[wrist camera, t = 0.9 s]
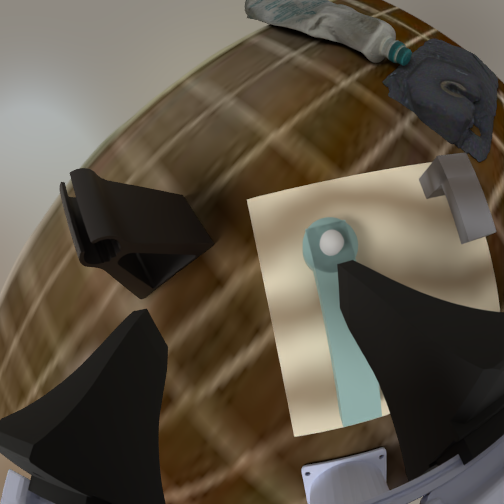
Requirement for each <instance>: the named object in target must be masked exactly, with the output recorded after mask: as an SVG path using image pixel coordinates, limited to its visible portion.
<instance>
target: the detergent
mask: <svg viewBox="0 0 504 504" xmlns="http://www.w3.org/2000/svg"><path fill="white" fill-rule="evenodd" d="M245 12H246V14H247V15H248V16H247V18H250V19H255V20H259V21H262V22H265V23H267V24H271V25H275V26H282V27H287V28H290V29H294V30H298V31H301V32H303V33H306V34H308V35H310V36H312V37H315V38H323V39H327V40H331V41H335V42H339V43H342V44H345V45H347V46H349V47H351V48H353V49H355V50H358V51H360V52H362V53H363V54H364V55H365V57H366V58H367V59H368V60H370V61H371V62H373V63H378V62H380V61H382V60H383V59H384V58H385V57H387V58H388V60H390V61H391V62H393V63H399V64H400V65H403V66H405V65H406V64H408V62H409V61H410V58H411V55H412V52H411V50H410V49H408V48H406V46H405V45H404V44H403V43H402V42H400V41H395V39H396V34H395V31H394V29H393V28H392V27H391V26H390V25H389V24H388V23H386V22H384V21H382V20H380V19H377V18H374V17H370V16H367V15H363V14H361V13H359V12H357V11H355V10H354V9H353V8H350V7H348V6H345V5H341V4H340V5H336V4H334V3H332V2H330V1H328V0H246V2H245Z"/></svg>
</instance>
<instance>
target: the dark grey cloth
mask: <svg viewBox="0 0 504 504" xmlns="http://www.w3.org/2000/svg"><path fill="white" fill-rule="evenodd" d="M383 84H384V85H385V86H386V87H389V94H388V95H389V97H391V98H393V99H395V100H397V101H398V102H400V103H401V104H403V105H404V106H405V107H407V108H408V109H410V110H411V111H413V112H414V113H415V114H416V115H417V116H418V117H419V119H420V120H421V121H422V122H424V123H425V124H426V125H427V126H429V127H430V128H431V129H432V130H434V131H435V132H437V133H438V134H439V135H440V136H442V137H443V138H444V139H445V140H447V141H448V142H449V143H451V144H455V145H456V146H457V147H458V148H460V147H461V149H462V150H464V151H465V152H466V153H468V152H469V153H470V154H471V155H472V156H473V157H474V158H476V159H477V161H479V162H481V161H483V160H485V159H486V158H487V154H488V153H489V151H490V144H491V139H492V132H493V131H492V130H493V120H494V118H493V117H494V116H495V115H496V113H495V112H496V109H497V103H496V100H497V88H498V79H497V77H496V75H495V74H494V73H493V72H492V71H491V70H490V69H489V68H488V67H487V66H486V65H485V64H484V63H483V62H482V61H481V60H480V59H479V58H478V57H477V56H476V55H474V54H473V53H471V52H469V51H467V50H465V49H462V48H460V47H456V46H452V45H450V44H449V43H446V42H444V41H442V40H437V39H430V40H428V41H427V42H425V43H424V46H421V47H420V48H418V50H416V51H415V52H413V53H412V55H411V58H410V61H409V62H408V64H406V65H405V66H403V65H400V66H398V67H397V69H396V70H395V71H393V72H392V73H391V74H390V75H389V76H387V78H386V79H385V80H384V81H383ZM473 124H474V125H475V126H476V127H478V128H479V130H480V133H481V136H480V137H479V136H477V135H476V134H474V133H473V132H472V131H471V130H470V129H469V128H472V127H473Z"/></svg>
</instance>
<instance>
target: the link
mask: <svg viewBox="0 0 504 504" xmlns="http://www.w3.org/2000/svg"><path fill="white" fill-rule="evenodd" d="M357 252H358V240H357V236H356V234H355V232H354V230H353V229H352V228H351V226H350V225H349V224H347V223H346V221H345V220H341V219H338V218H334V217H326V218H321V219H319V220H317V221H315V222H314V223H312V224H311V225H310V226H309V227H308V229H305V234H304V238H303V257H304V260H305V263H306V264H307V266H308V267H309V268H310V269H311V270H312V271H313V273H314V277H315V282H316V286H317V291H318V295H319V300H320V305H321V310H322V314H323V319H324V324H325V330H326V335H327V340H328V345H329V351H330V357H331V362H332V368H333V374H334V380H335V387H336V393H337V400H338V407H339V414H340V418H341V421H342V424H343V427H345V426H349V425H353V424H357V423H361V422H364V421H368V420H371V419H375V418H378V417H381V416H382V410H381V399H380V389H379V383H378V381H377V379H376V377H375V375H374V373H373V371H372V369H371V367H370V366H369V364H368V362H367V360H366V358H365V357H364V355H363V353H362V352H361V350H360V348H359V346H358V345H357V343H356V341H355V339H354V338H353V336H352V334H351V332H350V331H349V329H348V326H347V324H346V322H345V319H344V317H343V315H342V312H341V310H340V302H339V283H338V269H337V264H340V263H343V262H347V261H351V260H354V261H356V258H355V257H356V255H357Z"/></svg>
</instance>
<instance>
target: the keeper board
mask: <svg viewBox="0 0 504 504" xmlns="http://www.w3.org/2000/svg"><path fill="white" fill-rule="evenodd" d="M247 203H248V208H249V212H250V217H251V222H252V227H253V232H254V237H255V241H256V246H257V251H258V256H259V261H260V266H261V271H262V276H263V281H264V286H265V290H266V295H267V300H268V305H269V310H270V315H271V320H272V325H273V330H274V335H275V340H276V345H277V350H278V355H279V360H280V365H281V370H282V375H283V380H284V386H285V391H286V396H287V401H288V406H289V411H290V416H291V421H292V427H293V432H294V437H295V436H302V435H308V434H313V433H319V432H324V431H328V430H333V429H337V428H342V427H343V424H342V421H341V418H340V414H339V407H338V400H337V393H336V387H335V380H334V374H333V368H332V362H331V357H330V351H329V345H328V340H327V335H326V330H325V324H324V319H323V314H322V310H321V305H320V300H319V295H318V291H317V286H316V282H315V277H314V273H313V271H312V270H311V269H310V268H309V267H308V266H307V264H306V263H305V260H304V257H303V238H304V234H305V229H308V227H309V226H310V225H311V224H312V223H314V222H315V221H317V220H319V219H321V218H326V217H334V218H338V219H341V220H345V221H346V223H347V224H349V225H350V226H351V228H352V229H353V230H354V232H355V234H356V236H357V240H358V252H357V255H356V257H355V258H356V262H358V263H360V264H362V265H365V266H367V267H369V268H370V269H372V270H374V271H376V272H378V273H380V274H382V275H384V276H386V277H388V278H390V279H392V280H395V281H397V282H399V283H401V284H403V285H405V286H408V287H410V288H412V289H415V290H417V291H419V292H422V293H424V294H427V295H430V296H433V297H436V298H439V299H442V300H445V301H448V302H451V303H455V304H459V305H463V306H467V307H471V308H476V309H482V310H488V311H495V312H500V306H499V299H498V292H497V286H496V280H495V275H494V270H493V265H492V261H491V256H490V252H489V248H488V244H487V241H486V237H485V236H488V235H490V234H493V233H495V232H496V229H495V226H494V222H493V219H492V216H491V213H490V210H489V207H488V204H487V201H486V199H485V196H484V193H483V191H482V188H481V186H480V183H479V181H478V178H477V176H476V174H475V171H474V169H473V167H472V165H471V162H470V160H469V158H468V156H467V154H466V153H458V154H449V155H441V156H437V157H436V158H435V159H434V161H433V162H430V163H423V164H416V165H410V166H404V167H398V168H392V169H386V170H380V171H375V172H369V173H364V174H358V175H353V176H348V177H343V178H338V179H333V180H329V181H324V182H319V183H314V184H310V185H305V186H301V187H297V188H292V189H288V190H284V191H279V192H275V193H271V194H267V195H263V196H259V197H255V198H251V199H247ZM379 389H380V399H381V410H382V416H385V415H388V414H390V412H389V409H388V406H387V403H386V400H385V398H384V395H383V393H382V390H381V388H380V385H379ZM371 420H372V419H371ZM364 422H365V421H364ZM357 424H358V423H357ZM353 425H354V424H353ZM349 426H350V425H349ZM345 427H346V426H345Z"/></svg>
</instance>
